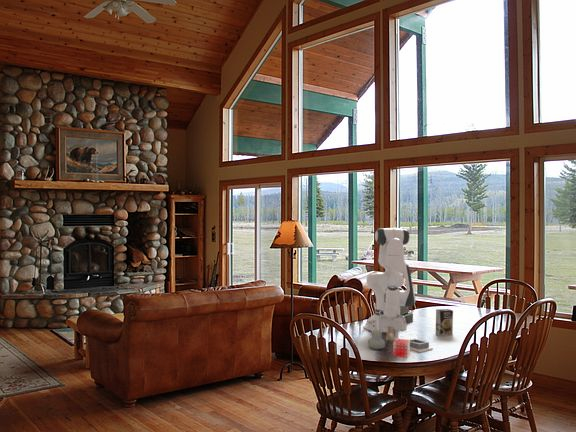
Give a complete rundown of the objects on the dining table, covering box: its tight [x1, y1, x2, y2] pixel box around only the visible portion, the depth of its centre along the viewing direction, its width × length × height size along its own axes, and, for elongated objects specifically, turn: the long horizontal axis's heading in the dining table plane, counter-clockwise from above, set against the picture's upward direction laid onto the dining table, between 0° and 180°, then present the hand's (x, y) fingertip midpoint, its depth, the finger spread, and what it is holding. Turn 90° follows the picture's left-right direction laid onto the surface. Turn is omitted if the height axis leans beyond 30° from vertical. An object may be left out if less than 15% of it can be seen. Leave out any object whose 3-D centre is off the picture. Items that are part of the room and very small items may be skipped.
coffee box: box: [435, 308, 454, 337], centre depth 353 cm, size 9×6×16 cm
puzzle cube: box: [392, 338, 411, 358], centre depth 302 cm, size 8×8×8 cm
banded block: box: [385, 326, 399, 345], centre depth 329 cm, size 4×6×10 cm, turn 124°
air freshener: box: [367, 330, 386, 351], centre depth 315 cm, size 11×8×10 cm
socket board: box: [409, 338, 434, 353], centre depth 317 cm, size 14×11×4 cm
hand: (392, 336), depth 329 cm, fingers closed on banded block, 4 cm apart
